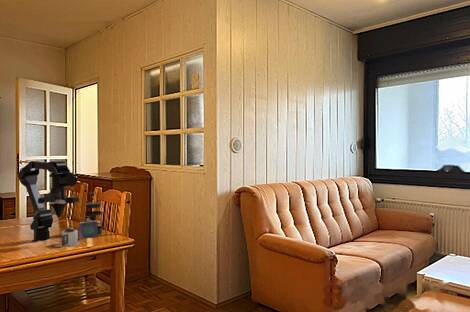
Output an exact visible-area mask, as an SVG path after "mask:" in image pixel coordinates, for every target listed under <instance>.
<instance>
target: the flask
mask: <svg viewBox="0 0 470 312" xmlns="http://www.w3.org/2000/svg"><path fill="white" fill-rule="evenodd" d="M97 221H98V220H96V221H94V220H93V221H92V220H91V219H90V218H89V217H88V218H86V219H85V221H81V222H79V223H78V240H84V239H91V238H97V237H98V236H99V235H98V226H99V224H98V222H97Z"/></svg>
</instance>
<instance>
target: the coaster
mask: <svg viewBox="0 0 470 312" xmlns="http://www.w3.org/2000/svg"><path fill="white" fill-rule="evenodd" d="M83 243H84V241H78V243H77V244H75V245H70V246H63V245H62V244H61V243H59V244H57V245H54V246H53V247H55V248H56V247H58V248H60V247H61V248H65V247H66V248H73V247H76V246H78V245H80V244H83Z"/></svg>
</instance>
